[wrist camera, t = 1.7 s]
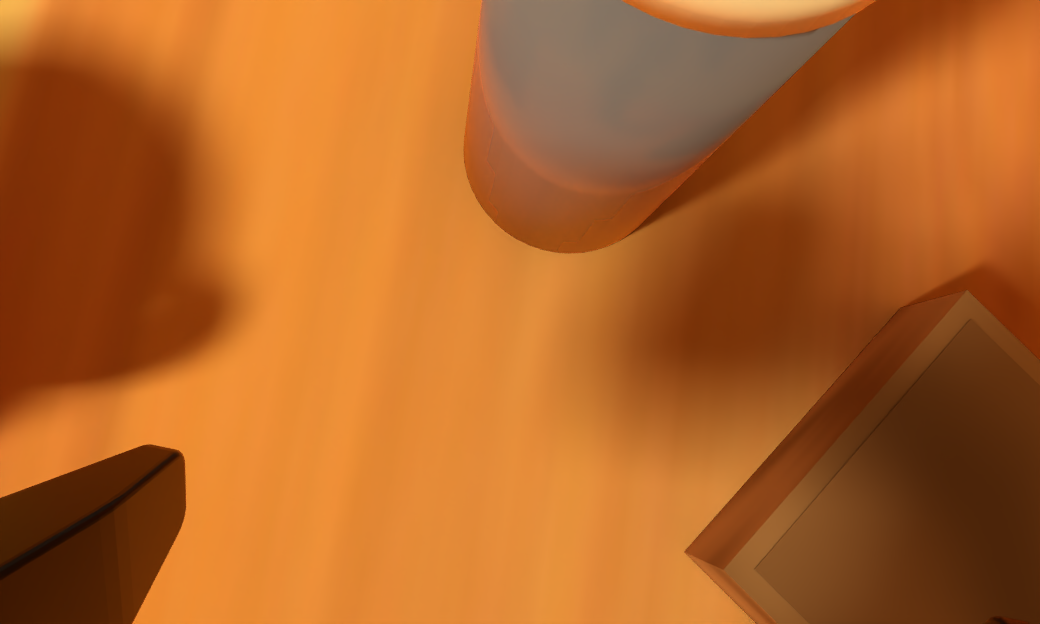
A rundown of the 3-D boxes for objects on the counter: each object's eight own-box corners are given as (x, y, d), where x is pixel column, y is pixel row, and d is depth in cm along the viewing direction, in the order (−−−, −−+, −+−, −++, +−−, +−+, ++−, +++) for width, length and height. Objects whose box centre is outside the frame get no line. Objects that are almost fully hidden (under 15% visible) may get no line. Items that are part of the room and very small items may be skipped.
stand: (937, 801, 22) (1016, 859, 19) (684, 551, 22) (723, 570, 19) (1138, 539, 24) (1241, 554, 21) (900, 307, 24) (968, 289, 21)
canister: (570, 301, 23) (785, 102, 9) (414, 148, 23) (397, -273, 9) (713, 155, 24) (1101, -222, 10) (564, 9, 24) (746, -557, 10)
